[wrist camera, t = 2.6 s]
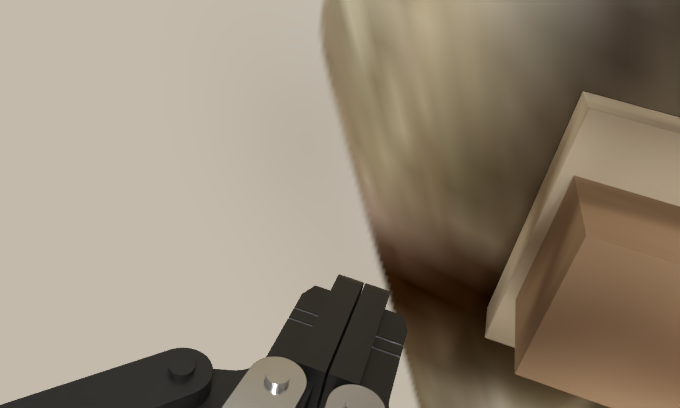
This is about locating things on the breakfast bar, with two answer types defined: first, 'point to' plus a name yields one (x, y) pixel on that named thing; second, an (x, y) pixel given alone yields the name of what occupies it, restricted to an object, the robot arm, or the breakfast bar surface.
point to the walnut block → (605, 300)
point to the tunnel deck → (596, 165)
